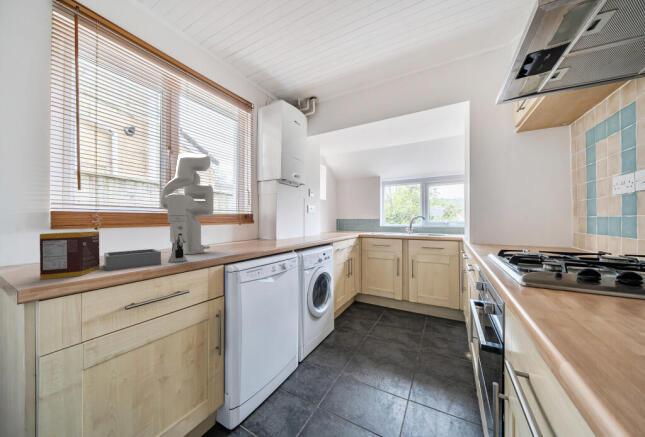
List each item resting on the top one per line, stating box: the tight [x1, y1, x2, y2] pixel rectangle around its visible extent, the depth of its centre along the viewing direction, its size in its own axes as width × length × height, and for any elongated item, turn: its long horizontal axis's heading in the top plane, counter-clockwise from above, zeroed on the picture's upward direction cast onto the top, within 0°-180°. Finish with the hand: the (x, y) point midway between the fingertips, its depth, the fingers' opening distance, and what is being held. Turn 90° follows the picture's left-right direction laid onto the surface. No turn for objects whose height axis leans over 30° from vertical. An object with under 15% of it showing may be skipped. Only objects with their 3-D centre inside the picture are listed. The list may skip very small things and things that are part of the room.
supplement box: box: [39, 230, 101, 280], centre depth 86 cm, size 10×15×16 cm
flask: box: [167, 242, 187, 263], centre depth 110 cm, size 7×7×10 cm
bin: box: [103, 248, 162, 271], centre depth 103 cm, size 18×18×6 cm
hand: (177, 256), depth 110 cm, fingers open, 5 cm apart
